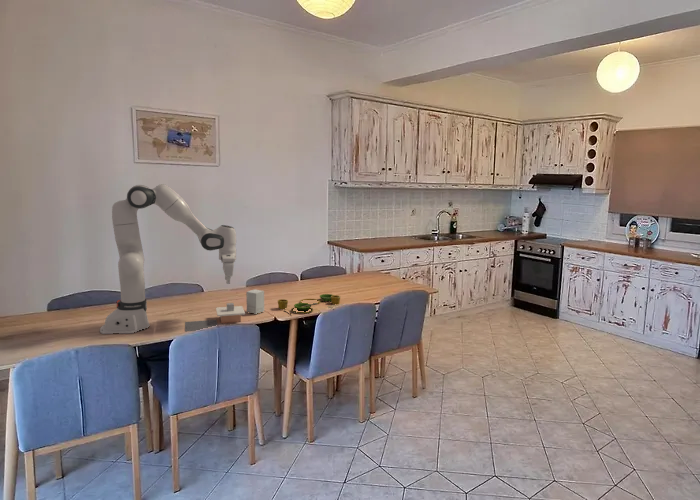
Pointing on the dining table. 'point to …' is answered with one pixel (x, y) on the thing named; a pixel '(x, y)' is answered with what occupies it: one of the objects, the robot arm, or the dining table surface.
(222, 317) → the brown open box
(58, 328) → the dining table surface
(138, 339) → the dining table surface
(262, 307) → the supplement box
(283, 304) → the tableware set
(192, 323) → the mat
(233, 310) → the lid
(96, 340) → the dining table surface
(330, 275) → the dining table surface
